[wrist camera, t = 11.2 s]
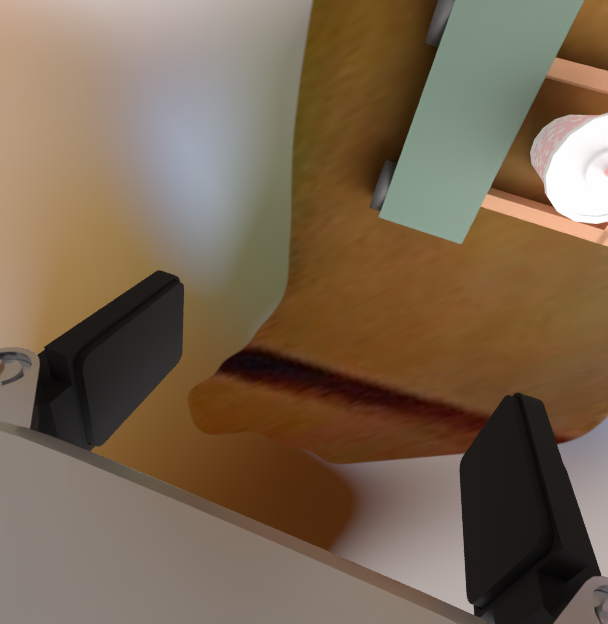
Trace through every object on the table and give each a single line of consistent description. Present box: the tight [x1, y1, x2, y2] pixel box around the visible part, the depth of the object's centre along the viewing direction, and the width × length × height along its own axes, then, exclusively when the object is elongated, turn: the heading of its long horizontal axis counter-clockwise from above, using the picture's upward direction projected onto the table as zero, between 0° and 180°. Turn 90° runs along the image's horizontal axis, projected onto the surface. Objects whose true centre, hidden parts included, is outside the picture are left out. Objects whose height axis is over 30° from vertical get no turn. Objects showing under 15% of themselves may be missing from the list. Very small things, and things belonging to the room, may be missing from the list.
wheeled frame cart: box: [370, 0, 608, 246], centre depth 28 cm, size 16×18×4 cm
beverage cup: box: [530, 113, 608, 224], centre depth 24 cm, size 6×6×14 cm
